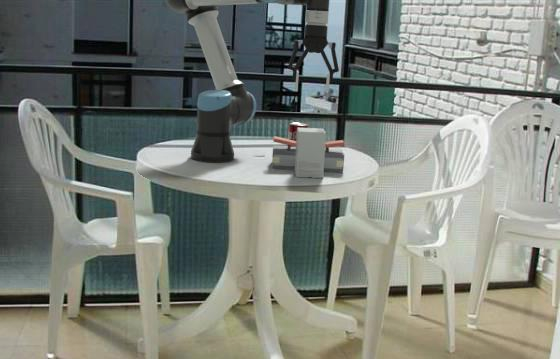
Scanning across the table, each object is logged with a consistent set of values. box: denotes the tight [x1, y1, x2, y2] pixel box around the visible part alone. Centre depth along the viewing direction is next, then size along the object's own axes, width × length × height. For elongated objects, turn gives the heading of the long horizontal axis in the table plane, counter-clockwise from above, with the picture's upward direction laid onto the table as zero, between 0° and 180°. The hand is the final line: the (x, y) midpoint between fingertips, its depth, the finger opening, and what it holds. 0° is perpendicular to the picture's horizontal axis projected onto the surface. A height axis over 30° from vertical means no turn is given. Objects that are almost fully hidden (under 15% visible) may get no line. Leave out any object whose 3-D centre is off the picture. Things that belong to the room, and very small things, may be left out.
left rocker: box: [272, 135, 296, 147], centre depth 234 cm, size 11×4×1 cm, turn 91°
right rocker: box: [325, 139, 345, 149], centre depth 234 cm, size 11×4×1 cm, turn 90°
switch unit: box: [271, 145, 345, 173], centre depth 235 cm, size 24×10×7 cm, turn 90°
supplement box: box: [294, 127, 327, 179], centre depth 223 cm, size 9×9×15 cm
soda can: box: [287, 122, 310, 147], centre depth 253 cm, size 7×7×12 cm
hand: (311, 91), depth 233 cm, fingers open, 10 cm apart
